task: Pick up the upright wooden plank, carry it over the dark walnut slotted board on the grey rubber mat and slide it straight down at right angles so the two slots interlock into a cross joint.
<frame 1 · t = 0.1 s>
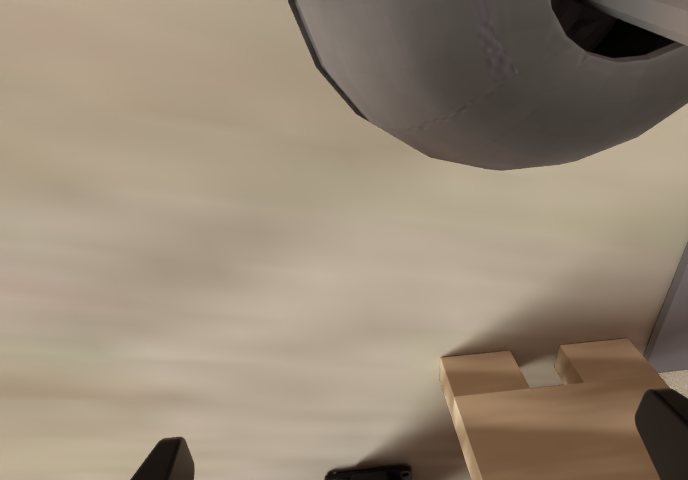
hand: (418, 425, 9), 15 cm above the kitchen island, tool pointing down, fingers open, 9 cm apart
upright wooden plank: (532, 359, 30), on the kitchen island
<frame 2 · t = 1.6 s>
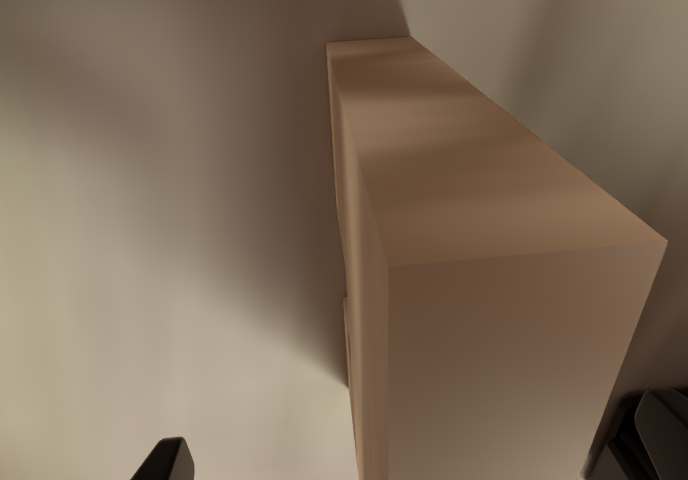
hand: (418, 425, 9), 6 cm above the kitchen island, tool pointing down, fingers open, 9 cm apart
upright wooden plank: (373, 253, 14), on the kitchen island
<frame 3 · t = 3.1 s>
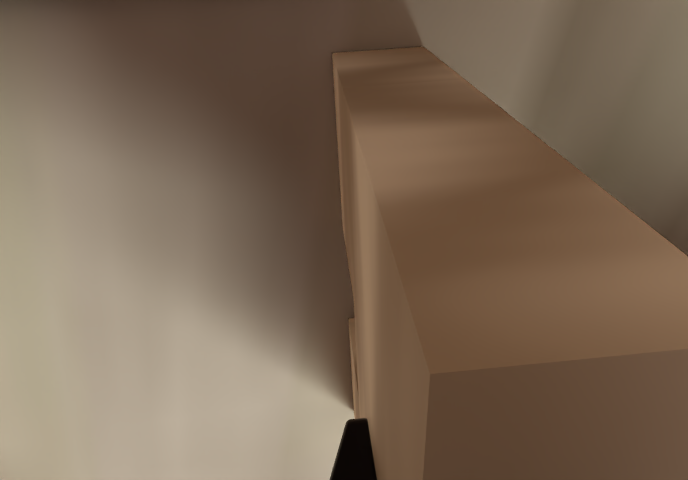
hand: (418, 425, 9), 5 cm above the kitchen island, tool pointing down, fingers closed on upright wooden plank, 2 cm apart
upright wooden plank: (380, 273, 13), on the kitchen island, touching gripper
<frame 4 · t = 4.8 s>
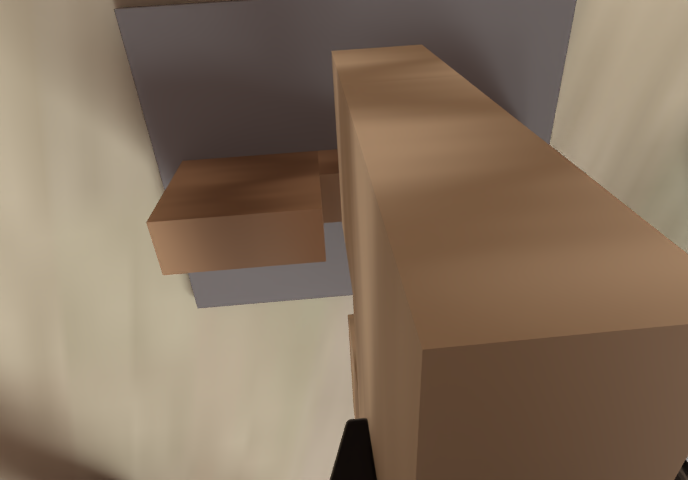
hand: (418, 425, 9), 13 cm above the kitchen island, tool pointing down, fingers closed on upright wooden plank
upright wooden plank: (379, 269, 13), point 8 cm above the kitchen island, touching gripper
walnut board: (358, 170, 19), resting on rubber mat
rubber mat: (356, 166, 20), on the kitchen island
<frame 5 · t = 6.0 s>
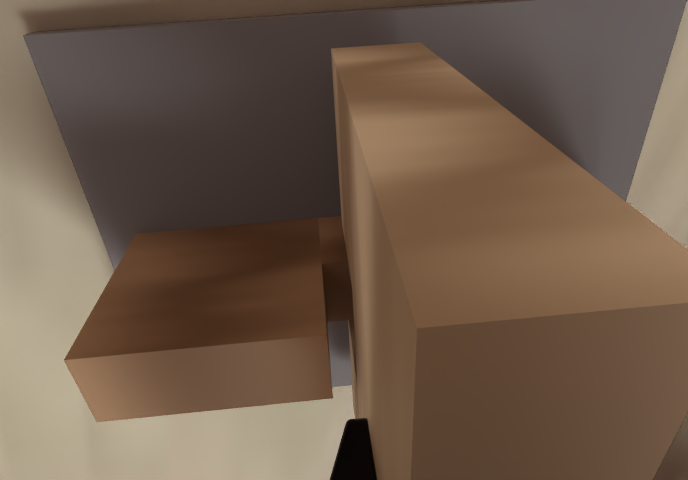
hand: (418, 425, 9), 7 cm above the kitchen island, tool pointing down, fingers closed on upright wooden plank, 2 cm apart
upright wooden plank: (379, 265, 14), point 2 cm above the kitchen island, touching gripper
walnut board: (371, 241, 15), resting on rubber mat
rubber mat: (369, 233, 15), on the kitchen island
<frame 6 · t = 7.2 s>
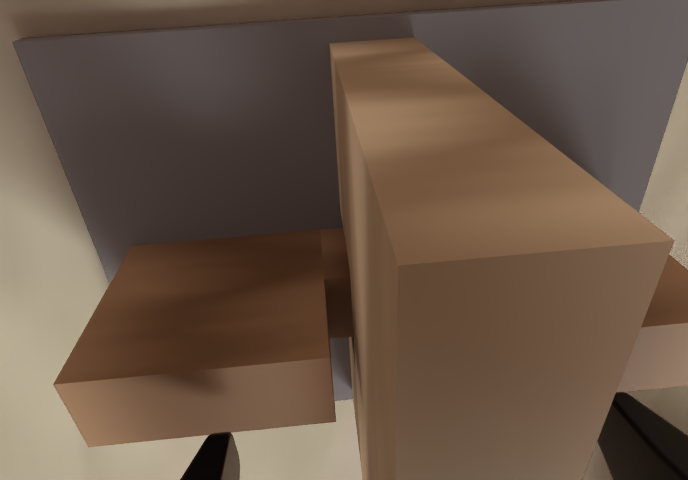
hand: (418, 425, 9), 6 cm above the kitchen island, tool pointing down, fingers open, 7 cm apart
upright wooden plank: (376, 253, 14), resting on rubber mat
walnut board: (375, 253, 14), resting on rubber mat
rubber mat: (373, 244, 15), on the kitchen island
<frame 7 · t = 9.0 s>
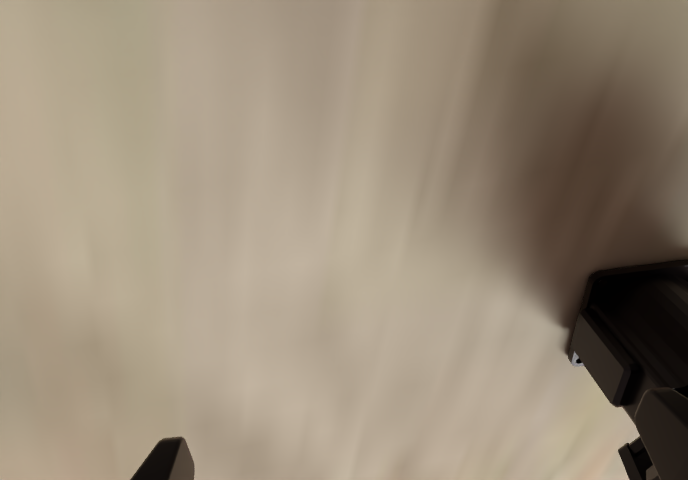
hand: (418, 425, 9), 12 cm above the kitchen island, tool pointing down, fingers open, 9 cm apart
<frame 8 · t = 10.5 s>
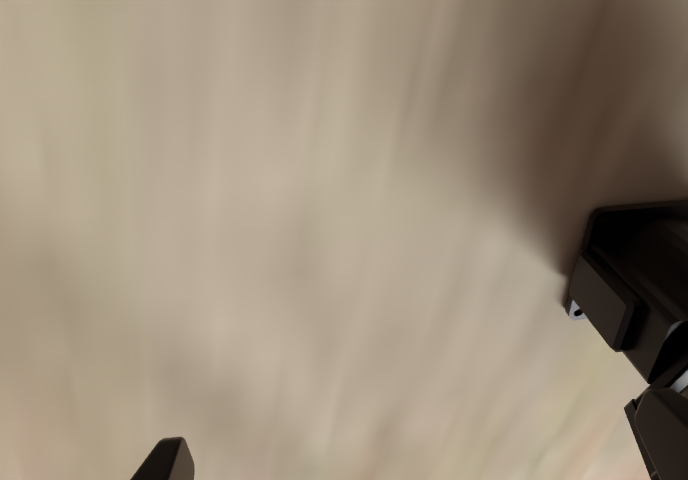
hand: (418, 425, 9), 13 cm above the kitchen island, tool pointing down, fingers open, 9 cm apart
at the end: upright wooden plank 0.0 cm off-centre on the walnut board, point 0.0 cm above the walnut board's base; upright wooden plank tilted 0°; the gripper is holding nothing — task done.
